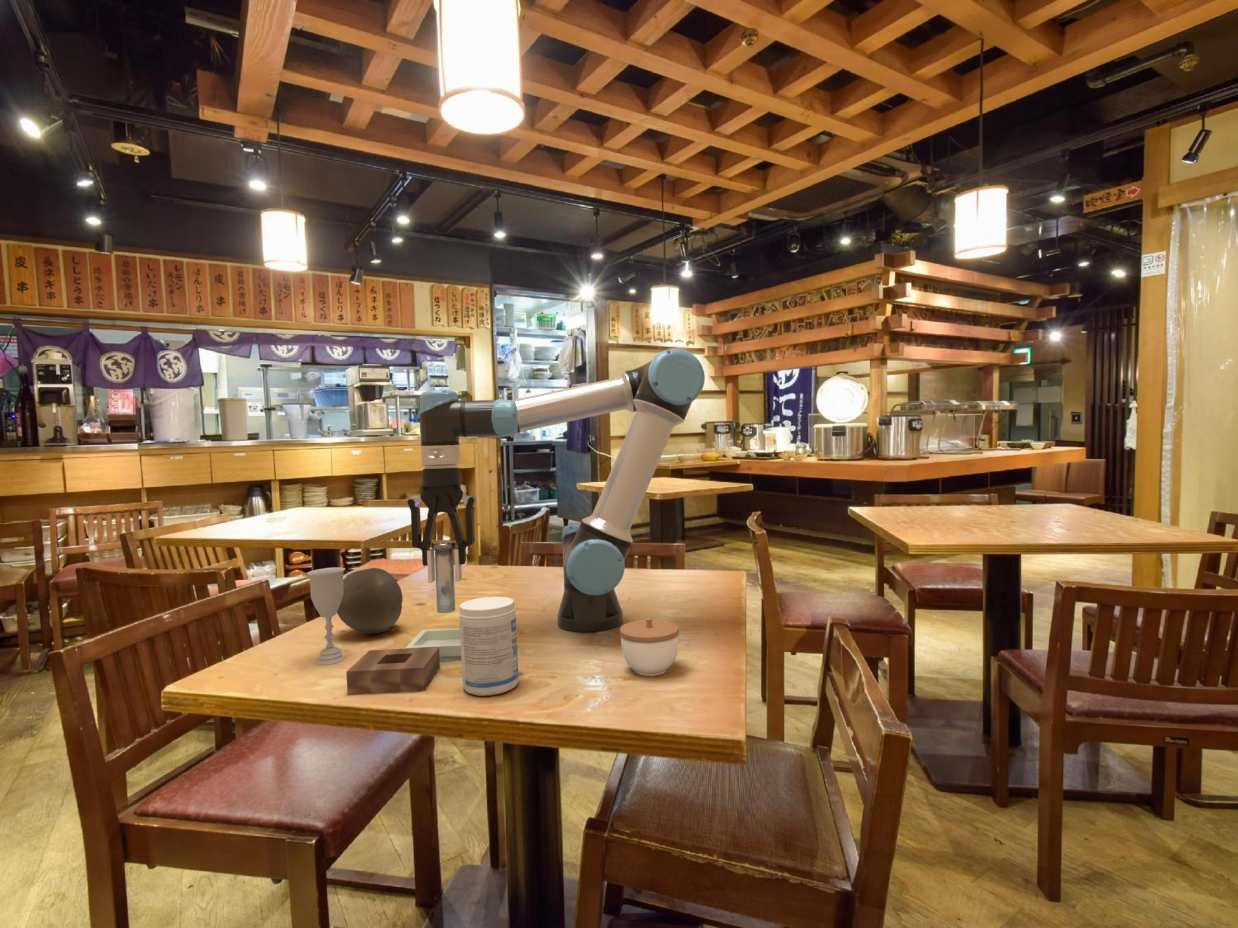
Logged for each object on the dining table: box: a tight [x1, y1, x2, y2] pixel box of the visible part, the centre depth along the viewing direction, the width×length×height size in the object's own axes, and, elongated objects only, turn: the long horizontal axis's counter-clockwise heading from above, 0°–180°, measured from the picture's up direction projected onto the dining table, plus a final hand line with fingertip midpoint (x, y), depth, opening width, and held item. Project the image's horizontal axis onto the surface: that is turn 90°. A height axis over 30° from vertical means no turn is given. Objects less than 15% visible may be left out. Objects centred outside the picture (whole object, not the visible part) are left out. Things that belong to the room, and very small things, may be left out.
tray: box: [404, 627, 462, 663], centre depth 126 cm, size 14×12×3 cm
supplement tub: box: [458, 596, 519, 697], centre depth 106 cm, size 10×10×15 cm
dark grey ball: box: [336, 567, 403, 635], centre depth 140 cm, size 14×14×15 cm
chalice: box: [306, 566, 346, 666], centre depth 123 cm, size 7×7×18 cm
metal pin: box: [431, 540, 457, 614], centre depth 126 cm, size 5×5×14 cm
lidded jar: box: [619, 617, 680, 677], centre depth 112 cm, size 11×11×9 cm
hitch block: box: [345, 647, 441, 696], centre depth 111 cm, size 13×11×4 cm
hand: (445, 580), depth 126 cm, fingers closed on metal pin, 5 cm apart
